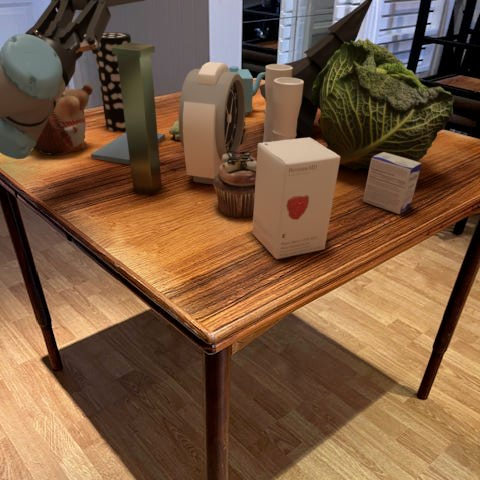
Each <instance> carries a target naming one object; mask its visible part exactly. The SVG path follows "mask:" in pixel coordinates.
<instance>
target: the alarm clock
mask: <svg viewBox="0 0 480 480" xmlns="http://www.w3.org/2000/svg"><path fill="white" fill-rule="evenodd" d="M229 67H230V66H228V65H227V64H226V62H216V61H208V62H205V63H204V64H203V65H202V66H201V67H200V68H194V69H191V70H190V71H189V72H188V74H187V75H186V77H185V79H184V81H183V85H182V88H181V91H180V98H179V102H178V104H179V105H178V119H179V134H180V140H179V141H180V144H181V147H182V149H183V151H184V154H183V155H184V163H185V171H186V176H192V179H193V181H192V182H193V183H200V184H205V185H213V186H214V178H215V176H216V174H217V173H218V170H219V167H220V166H221V164H223V162H222V156H223V155H224V154H227V153H226V152H227V151H230V150H232V151H234V152H238V153H239V149H240V146H241V143H242V138H243V136H242V133H243V134H244V129H243V127H244V121H245V120H246V119H245V117H246V116H245V90H244V84H243V80H242V78H241V76H240V75H239V74H238V73H237V72H229ZM244 128H245V127H244ZM235 155H236V156H237V154H235Z"/></svg>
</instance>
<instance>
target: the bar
mask: <svg viewBox="0 0 480 480" xmlns="http://www.w3.org/2000/svg"><path fill="white" fill-rule="evenodd" d="M144 1H146V0H108V1H107V2H106V4H107V6H108V8H112V7H117V6H123V5H128V4H133V3H139V2H144ZM89 2H90V0H72V4H73V9H74V10H76V11H82V10H83V9H84V8H85V7H86V5H87V4H88V3H89Z"/></svg>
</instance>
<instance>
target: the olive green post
mask: <svg viewBox="0 0 480 480" xmlns="http://www.w3.org/2000/svg"><path fill="white" fill-rule="evenodd" d="M155 52H156V47H155V45H154V44H146V43H135V42H131V43H124V44H121V45H118V46H115V47H112V54H113V55H117V60H118V68H119V77H120V85H121V93H122V101H123V109H124V118H125V126H126V132H125V133H126V134H127V142H128V150H129V158H130V164H129V167H130V175H131V182H132V190H133V193H138V194H145V195H149V196H153V195H155V194H156V193H158V191H159V190H160V189H161V188H162V187H163V184H162V173H161V160H160V148H159V147H160V146H159V143H158V135H157V133H158V123H157V112H156V99H155V88H154V75H153V73H154V72H153V63H152V54H153V53H155Z"/></svg>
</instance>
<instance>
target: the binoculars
mask: <svg viewBox="0 0 480 480" xmlns="http://www.w3.org/2000/svg"><path fill="white" fill-rule="evenodd" d="M292 69H293V68H292V67H291V66H288V65H285V64H280V63H271V64H267V65H265V72H266V73H265V76H264V84H265V95H266V101H265V110H264V113H263V114H264V123H263V139H262V143H264V142H273V141H280V140H290V139H297V138H296V137H297V118H298V115H299V110H300V106H301V102H302V92H303V83H304V81H303V80H301V79H297V78H292Z"/></svg>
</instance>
